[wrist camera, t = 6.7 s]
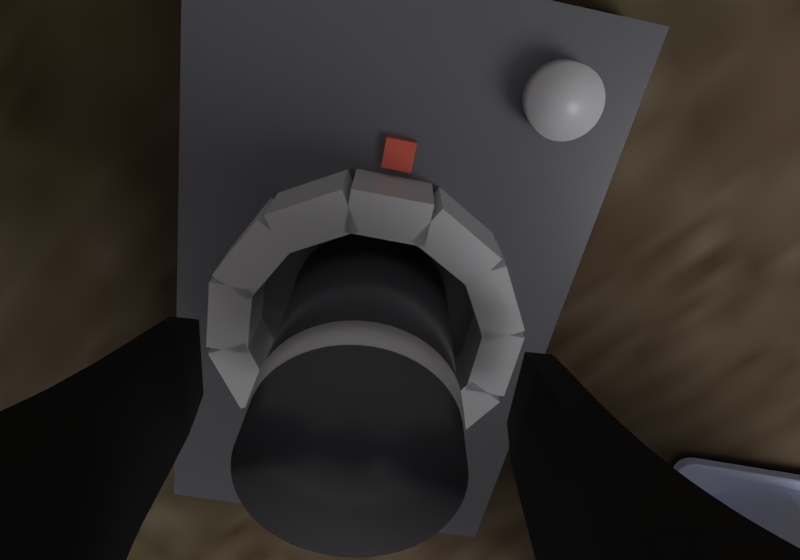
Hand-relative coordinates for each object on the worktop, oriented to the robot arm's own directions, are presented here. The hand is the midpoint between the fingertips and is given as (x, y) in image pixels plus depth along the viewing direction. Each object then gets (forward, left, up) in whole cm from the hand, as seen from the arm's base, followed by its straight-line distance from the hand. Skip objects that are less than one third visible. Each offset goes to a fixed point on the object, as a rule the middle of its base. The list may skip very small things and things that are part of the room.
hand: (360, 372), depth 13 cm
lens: (0, 0, -3) cm, 3 cm away
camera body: (0, 0, -5) cm, 5 cm away
